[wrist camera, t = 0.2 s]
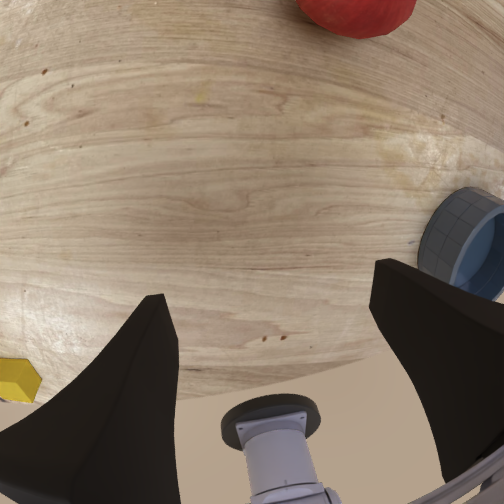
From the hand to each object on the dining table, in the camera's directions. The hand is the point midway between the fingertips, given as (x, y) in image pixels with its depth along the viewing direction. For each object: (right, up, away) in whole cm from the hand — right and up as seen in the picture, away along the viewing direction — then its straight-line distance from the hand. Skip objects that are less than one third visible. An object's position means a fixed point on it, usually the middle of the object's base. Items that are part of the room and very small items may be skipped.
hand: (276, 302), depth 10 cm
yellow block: (-23, -9, +11) cm, 27 cm away
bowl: (+16, +2, +11) cm, 20 cm away
